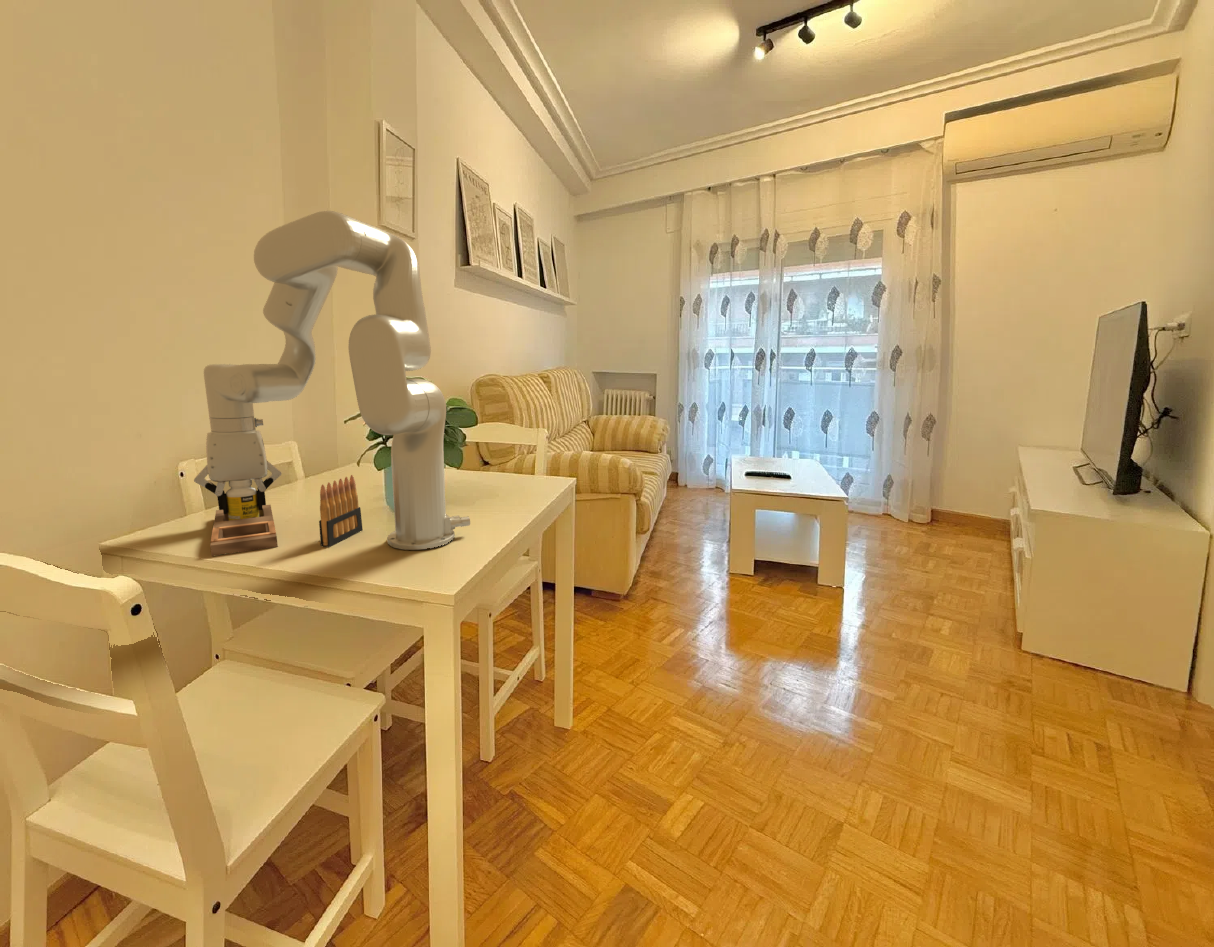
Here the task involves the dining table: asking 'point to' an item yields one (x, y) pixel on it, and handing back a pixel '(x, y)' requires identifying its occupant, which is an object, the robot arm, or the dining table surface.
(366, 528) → the dining table surface
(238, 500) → the supplement bottle
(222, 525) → the hole rail
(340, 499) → the ammunition clip
